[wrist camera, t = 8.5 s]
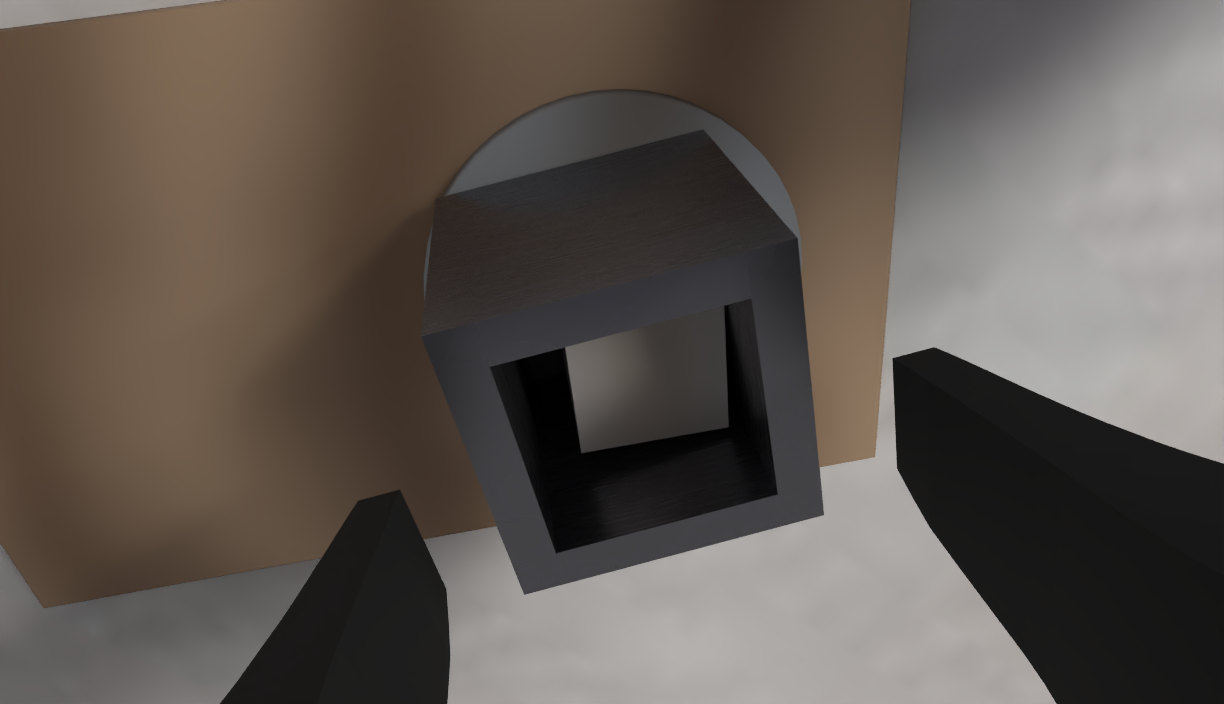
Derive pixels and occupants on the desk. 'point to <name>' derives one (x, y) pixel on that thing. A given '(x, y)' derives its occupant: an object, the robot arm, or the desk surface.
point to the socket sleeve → (610, 304)
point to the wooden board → (376, 251)
